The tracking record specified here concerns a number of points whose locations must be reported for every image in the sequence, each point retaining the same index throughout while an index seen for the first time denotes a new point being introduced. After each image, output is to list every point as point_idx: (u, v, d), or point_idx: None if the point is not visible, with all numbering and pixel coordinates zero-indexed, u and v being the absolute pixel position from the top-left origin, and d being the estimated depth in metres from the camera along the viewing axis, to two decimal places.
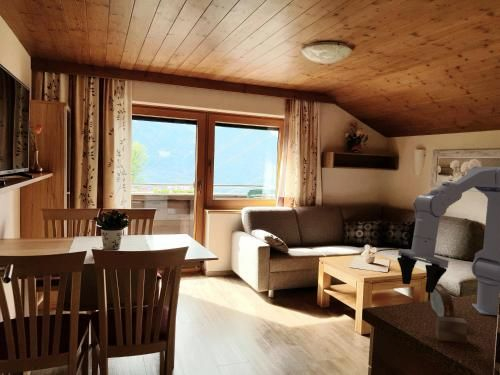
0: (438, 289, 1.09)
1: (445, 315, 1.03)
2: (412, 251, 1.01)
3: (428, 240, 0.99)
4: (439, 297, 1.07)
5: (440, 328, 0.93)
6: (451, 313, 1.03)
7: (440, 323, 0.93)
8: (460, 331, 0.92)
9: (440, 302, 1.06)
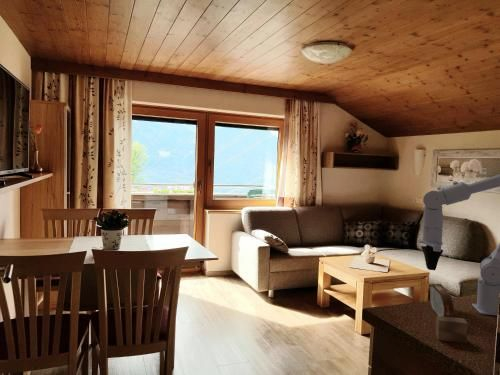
0: (438, 289, 1.09)
1: (445, 315, 1.03)
2: None
3: (429, 229, 1.20)
4: (439, 297, 1.07)
5: (440, 328, 0.93)
6: (451, 313, 1.03)
7: (440, 323, 0.93)
8: (460, 331, 0.92)
9: (440, 302, 1.06)
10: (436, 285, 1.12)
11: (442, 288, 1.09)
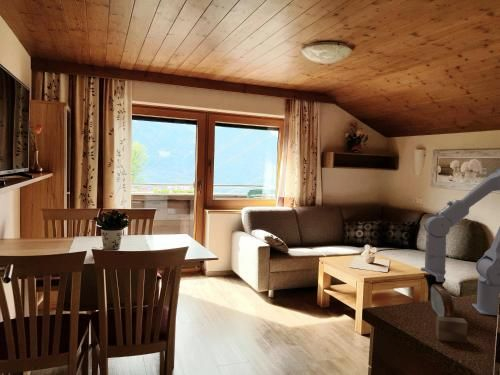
0: (438, 289, 1.08)
1: (445, 316, 1.02)
2: None
3: (432, 257, 1.15)
4: (439, 298, 1.06)
5: (440, 328, 0.93)
6: (451, 314, 1.02)
7: (440, 323, 0.93)
8: (460, 331, 0.92)
9: (440, 303, 1.06)
10: (437, 285, 1.12)
11: (442, 288, 1.09)
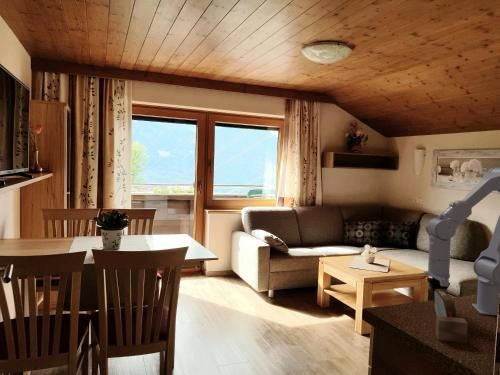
0: (441, 294, 1.04)
1: None
2: None
3: (435, 261, 1.11)
4: (442, 303, 1.02)
5: (440, 328, 0.93)
6: None
7: (440, 323, 0.93)
8: (460, 331, 0.92)
9: (443, 308, 1.01)
10: (440, 290, 1.07)
11: (446, 293, 1.04)
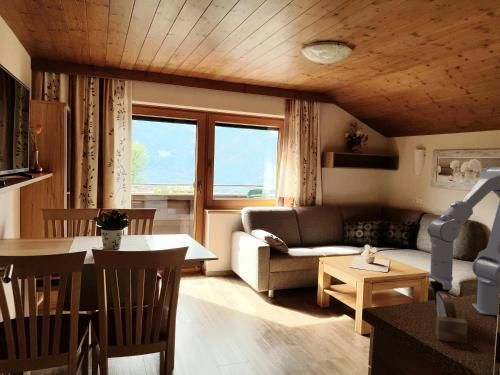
0: (442, 297, 1.02)
1: None
2: None
3: (438, 263, 1.08)
4: (443, 305, 1.00)
5: (440, 328, 0.93)
6: None
7: (440, 323, 0.93)
8: (460, 331, 0.92)
9: (443, 311, 0.99)
10: (441, 292, 1.05)
11: (447, 296, 1.02)
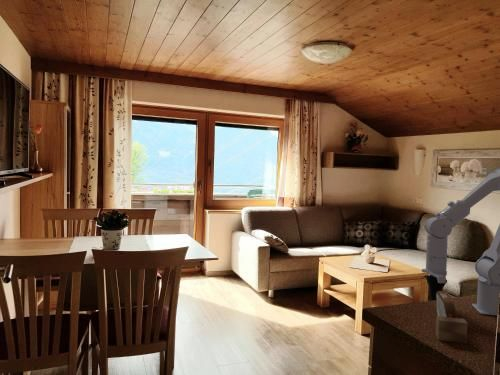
0: (442, 297, 1.02)
1: None
2: None
3: (433, 258, 1.14)
4: (443, 305, 1.00)
5: (440, 328, 0.93)
6: None
7: (440, 323, 0.93)
8: (460, 331, 0.92)
9: (443, 311, 0.99)
10: (441, 292, 1.05)
11: (447, 296, 1.02)
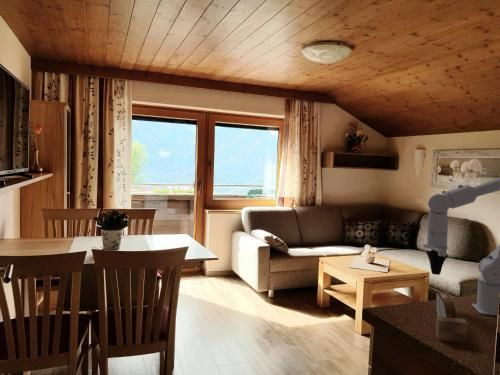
0: (442, 297, 1.02)
1: None
2: None
3: (434, 233, 1.18)
4: (443, 305, 1.00)
5: (440, 328, 0.93)
6: None
7: (440, 323, 0.93)
8: (460, 331, 0.92)
9: (443, 311, 0.99)
10: (441, 292, 1.05)
11: (447, 296, 1.02)
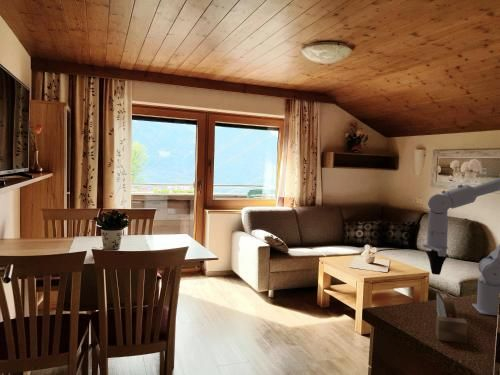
0: (442, 297, 1.02)
1: None
2: None
3: (434, 233, 1.18)
4: (443, 305, 1.00)
5: (440, 328, 0.93)
6: None
7: (440, 323, 0.93)
8: (460, 331, 0.92)
9: (443, 311, 0.99)
10: (441, 292, 1.05)
11: (447, 296, 1.02)
